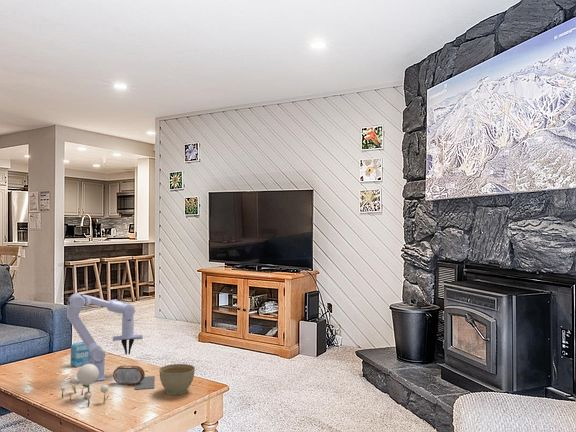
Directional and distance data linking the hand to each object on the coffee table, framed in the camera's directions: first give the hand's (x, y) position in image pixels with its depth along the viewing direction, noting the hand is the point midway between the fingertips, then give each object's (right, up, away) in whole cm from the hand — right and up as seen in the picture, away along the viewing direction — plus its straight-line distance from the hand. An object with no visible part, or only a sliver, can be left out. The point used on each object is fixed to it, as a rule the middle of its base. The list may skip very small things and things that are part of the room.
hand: (127, 353), depth 248 cm
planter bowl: (+31, -11, -25) cm, 41 cm away
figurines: (-7, -10, -36) cm, 38 cm away
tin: (+6, -10, -15) cm, 19 cm away
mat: (+13, -10, -13) cm, 21 cm away
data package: (-30, -11, +16) cm, 35 cm away
